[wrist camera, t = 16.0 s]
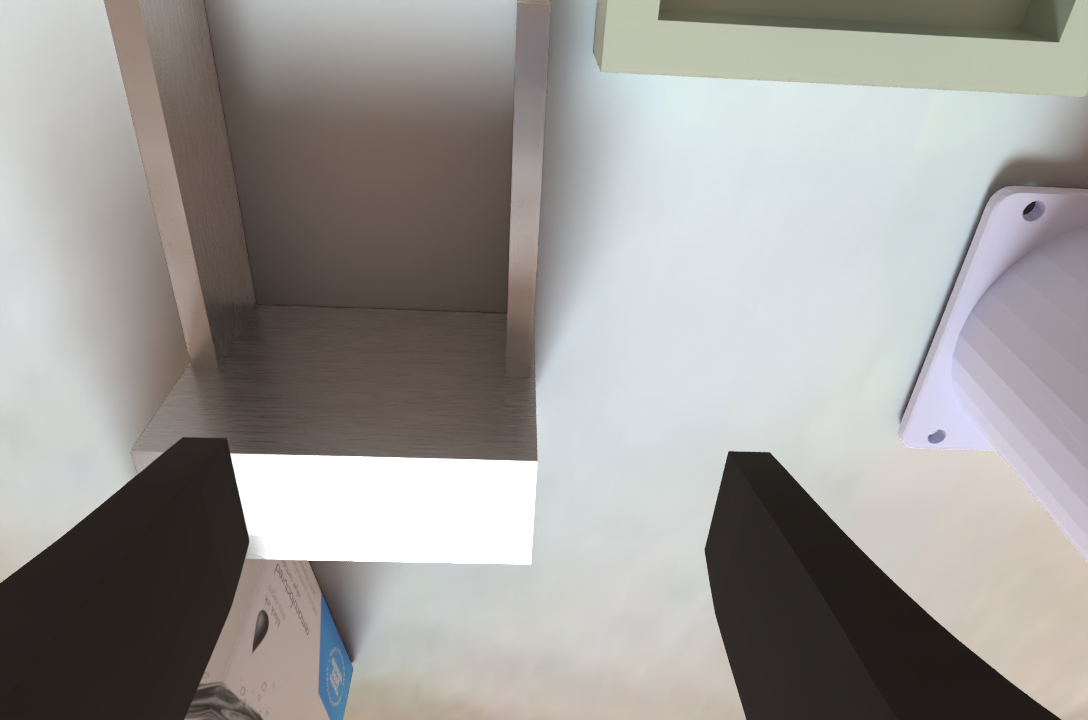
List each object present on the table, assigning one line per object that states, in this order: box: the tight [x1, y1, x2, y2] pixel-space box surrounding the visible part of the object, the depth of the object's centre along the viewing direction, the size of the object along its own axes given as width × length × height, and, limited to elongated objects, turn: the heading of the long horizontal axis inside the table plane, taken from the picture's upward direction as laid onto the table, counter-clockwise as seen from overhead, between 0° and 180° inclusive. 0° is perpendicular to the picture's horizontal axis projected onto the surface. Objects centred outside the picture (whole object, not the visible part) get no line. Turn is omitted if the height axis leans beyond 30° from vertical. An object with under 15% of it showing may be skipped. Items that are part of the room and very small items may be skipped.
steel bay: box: [104, 0, 551, 564], centre depth 16 cm, size 8×11×6 cm
